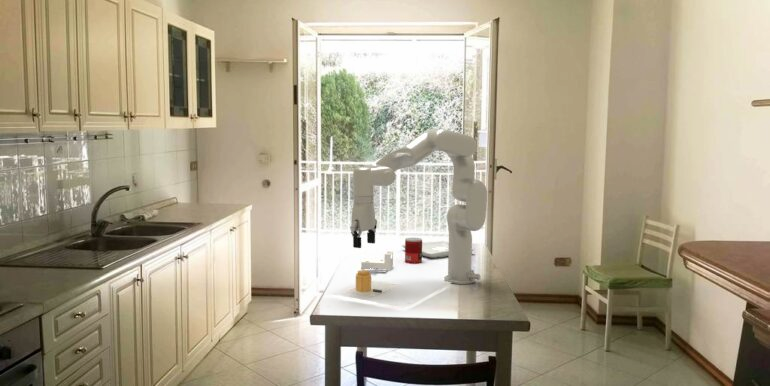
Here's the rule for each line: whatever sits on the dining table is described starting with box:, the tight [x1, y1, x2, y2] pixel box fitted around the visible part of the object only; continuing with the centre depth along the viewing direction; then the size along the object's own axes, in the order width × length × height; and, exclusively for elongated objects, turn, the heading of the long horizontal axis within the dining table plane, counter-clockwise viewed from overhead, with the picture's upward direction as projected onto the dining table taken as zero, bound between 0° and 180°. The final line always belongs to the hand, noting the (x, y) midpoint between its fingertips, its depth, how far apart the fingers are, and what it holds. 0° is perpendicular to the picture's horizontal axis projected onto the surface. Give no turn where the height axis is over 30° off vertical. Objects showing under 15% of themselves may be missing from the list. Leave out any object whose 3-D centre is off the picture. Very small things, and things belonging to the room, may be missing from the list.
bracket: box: [360, 250, 394, 272], centre depth 275 cm, size 13×7×8 cm, turn 80°
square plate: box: [401, 240, 475, 259], centre depth 312 cm, size 27×27×4 cm
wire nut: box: [355, 269, 372, 292], centre depth 232 cm, size 6×6×7 cm
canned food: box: [404, 237, 423, 265], centre depth 289 cm, size 8×8×11 cm
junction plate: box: [345, 280, 399, 297], centre depth 235 cm, size 12×20×6 cm, turn 150°
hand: (364, 245), depth 231 cm, fingers open, 9 cm apart
